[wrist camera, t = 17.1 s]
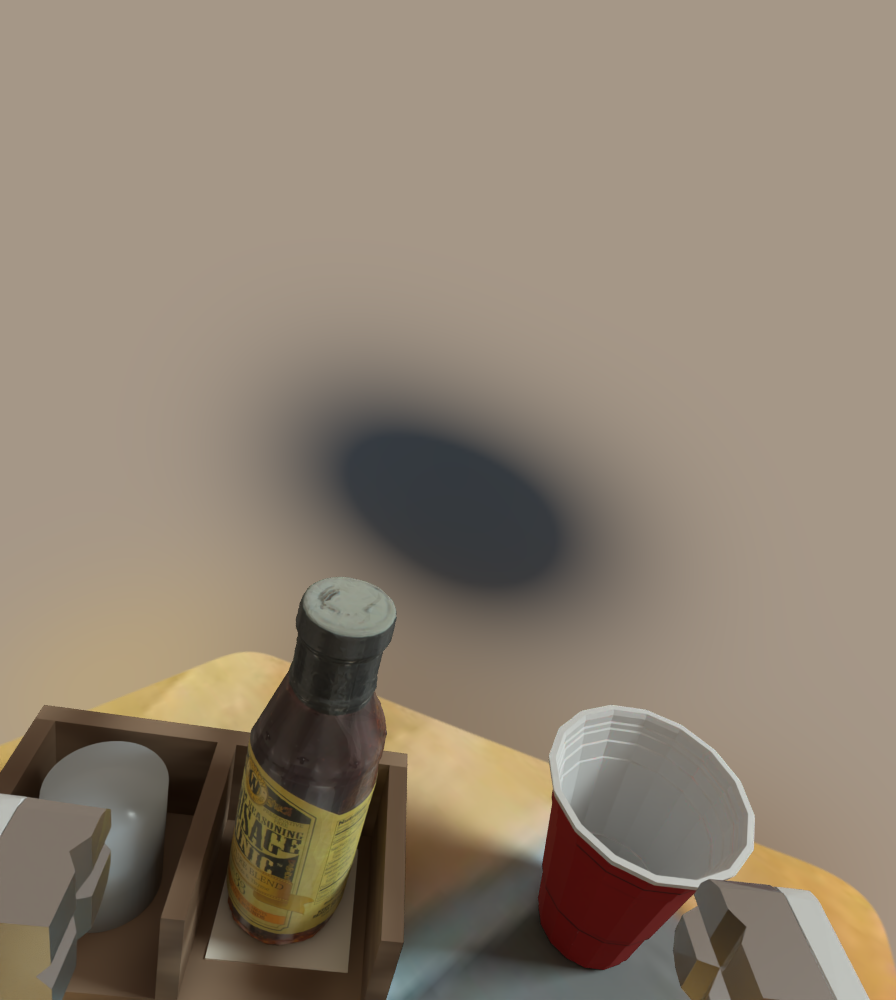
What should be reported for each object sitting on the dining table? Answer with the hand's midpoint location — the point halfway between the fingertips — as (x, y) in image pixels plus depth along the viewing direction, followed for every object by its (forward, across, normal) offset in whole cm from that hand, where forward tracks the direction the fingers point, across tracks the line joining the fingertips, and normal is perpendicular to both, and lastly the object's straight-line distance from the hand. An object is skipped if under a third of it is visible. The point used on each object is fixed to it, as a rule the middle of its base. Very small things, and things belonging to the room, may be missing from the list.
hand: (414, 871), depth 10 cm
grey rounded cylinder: (+19, +11, +29) cm, 36 cm away
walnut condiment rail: (+19, +6, +30) cm, 36 cm away
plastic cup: (+20, -16, +30) cm, 40 cm away
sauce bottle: (+19, +2, +29) cm, 35 cm away
